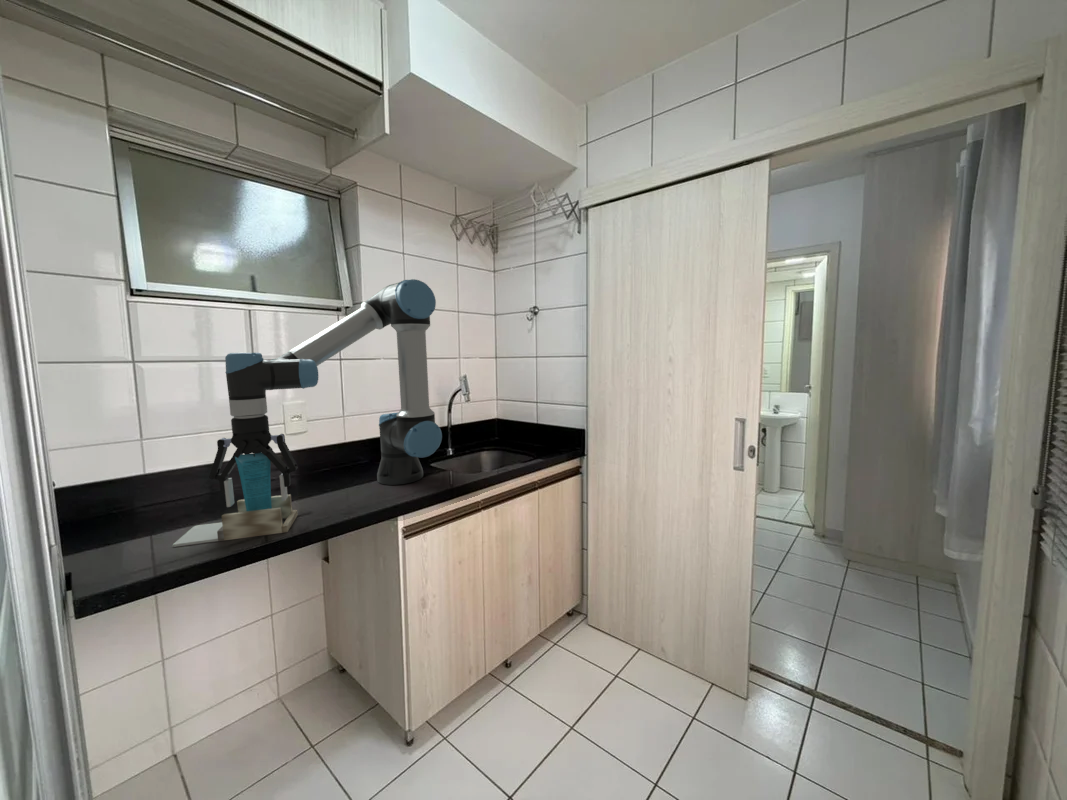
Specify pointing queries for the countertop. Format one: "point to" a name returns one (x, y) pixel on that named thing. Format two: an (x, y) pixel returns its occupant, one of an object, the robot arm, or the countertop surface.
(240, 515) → the rack
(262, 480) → the tube
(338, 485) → the countertop surface
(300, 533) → the countertop surface
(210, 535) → the mat
